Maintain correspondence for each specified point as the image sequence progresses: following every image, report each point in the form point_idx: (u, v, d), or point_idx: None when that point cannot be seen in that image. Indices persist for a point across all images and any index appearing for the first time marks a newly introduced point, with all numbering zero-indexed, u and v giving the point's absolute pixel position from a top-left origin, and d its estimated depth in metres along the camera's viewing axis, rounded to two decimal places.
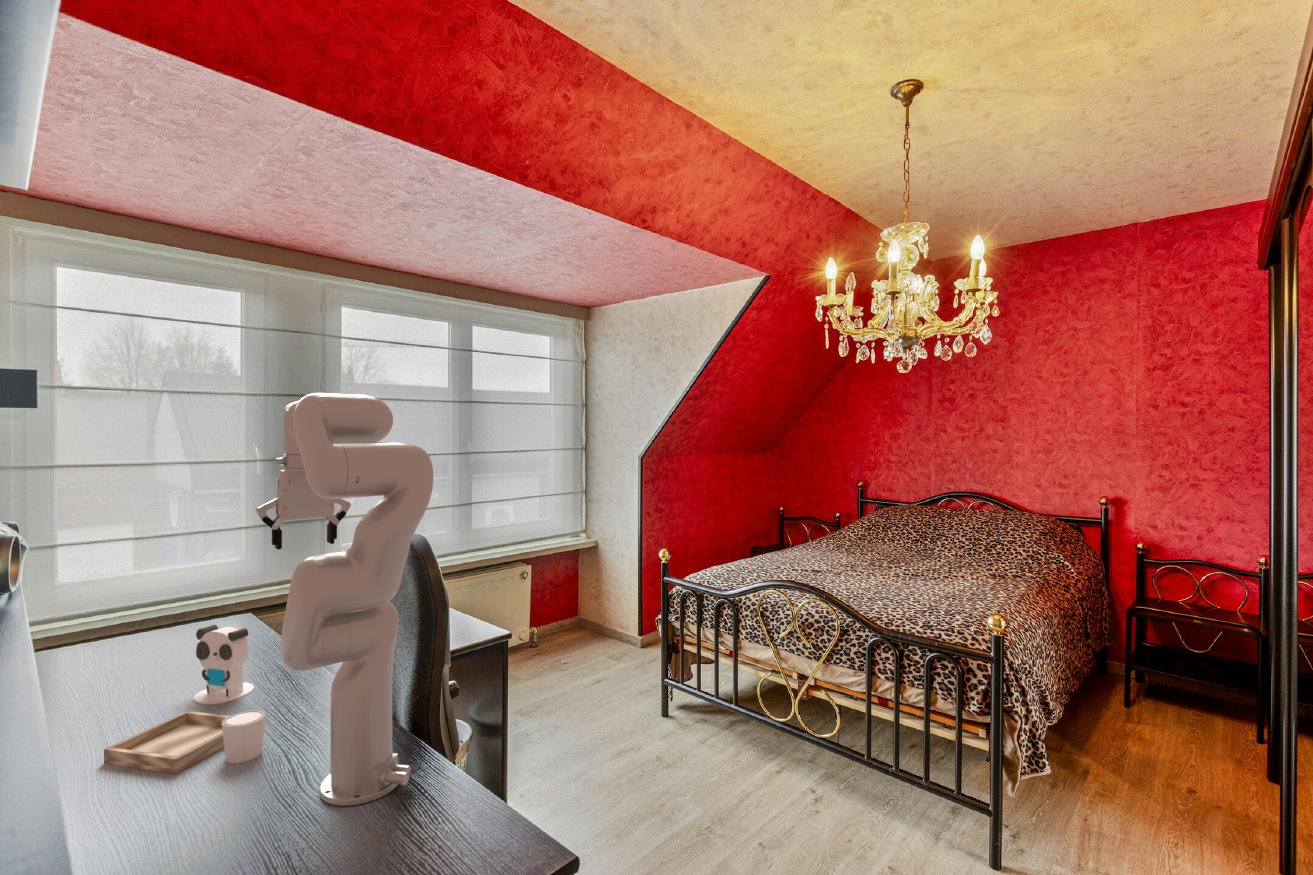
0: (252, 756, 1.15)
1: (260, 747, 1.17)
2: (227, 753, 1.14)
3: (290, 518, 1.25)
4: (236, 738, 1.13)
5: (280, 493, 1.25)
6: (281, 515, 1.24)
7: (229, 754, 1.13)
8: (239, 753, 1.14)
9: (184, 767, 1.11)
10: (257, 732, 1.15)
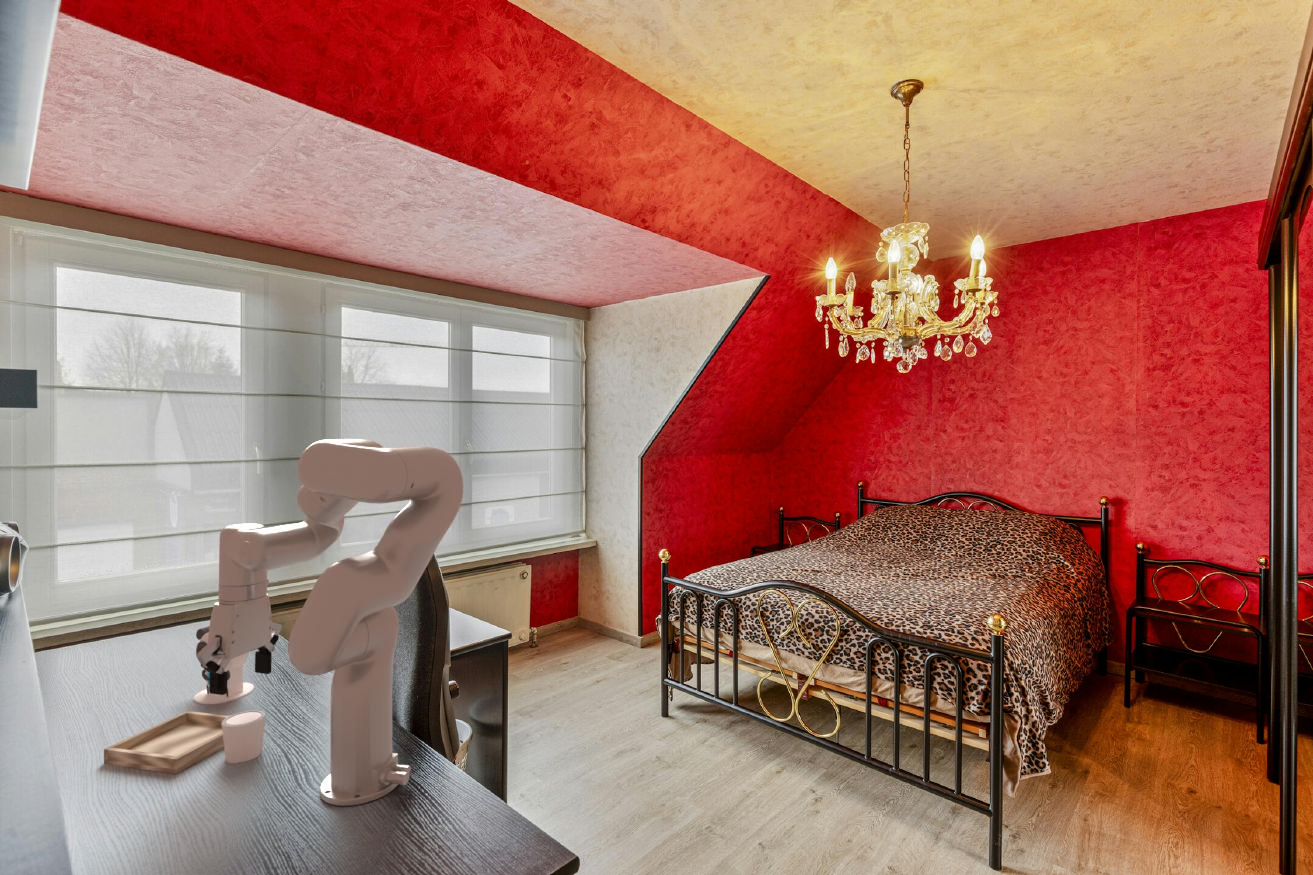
0: (252, 756, 1.15)
1: (260, 747, 1.17)
2: (227, 753, 1.14)
3: None
4: (236, 738, 1.13)
5: None
6: None
7: (229, 754, 1.13)
8: (239, 753, 1.14)
9: (184, 767, 1.11)
10: (257, 732, 1.15)
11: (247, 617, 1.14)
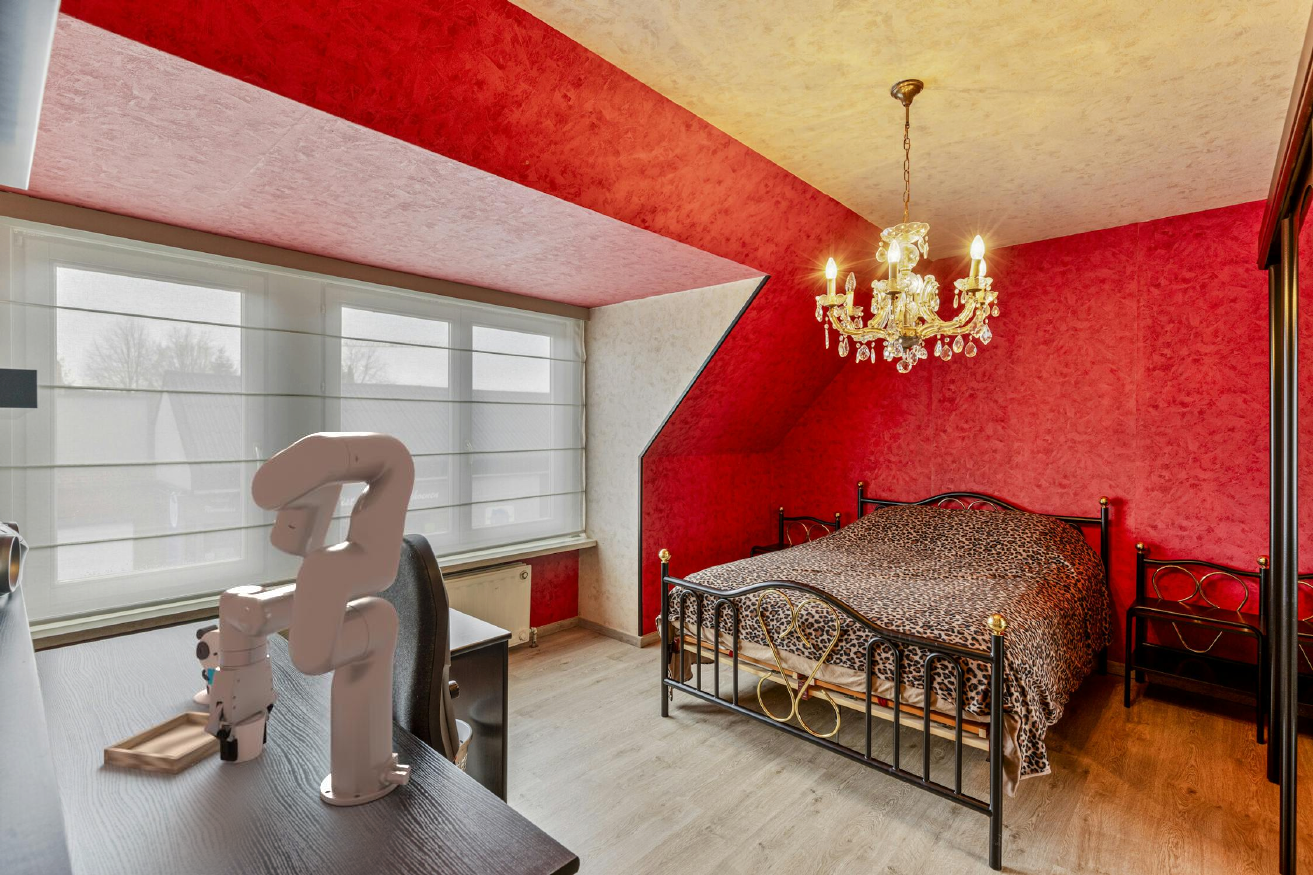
0: (252, 756, 1.15)
1: (260, 747, 1.17)
2: None
3: None
4: (236, 738, 1.13)
5: None
6: None
7: None
8: (239, 753, 1.14)
9: (184, 767, 1.11)
10: (257, 732, 1.15)
11: (249, 681, 1.14)
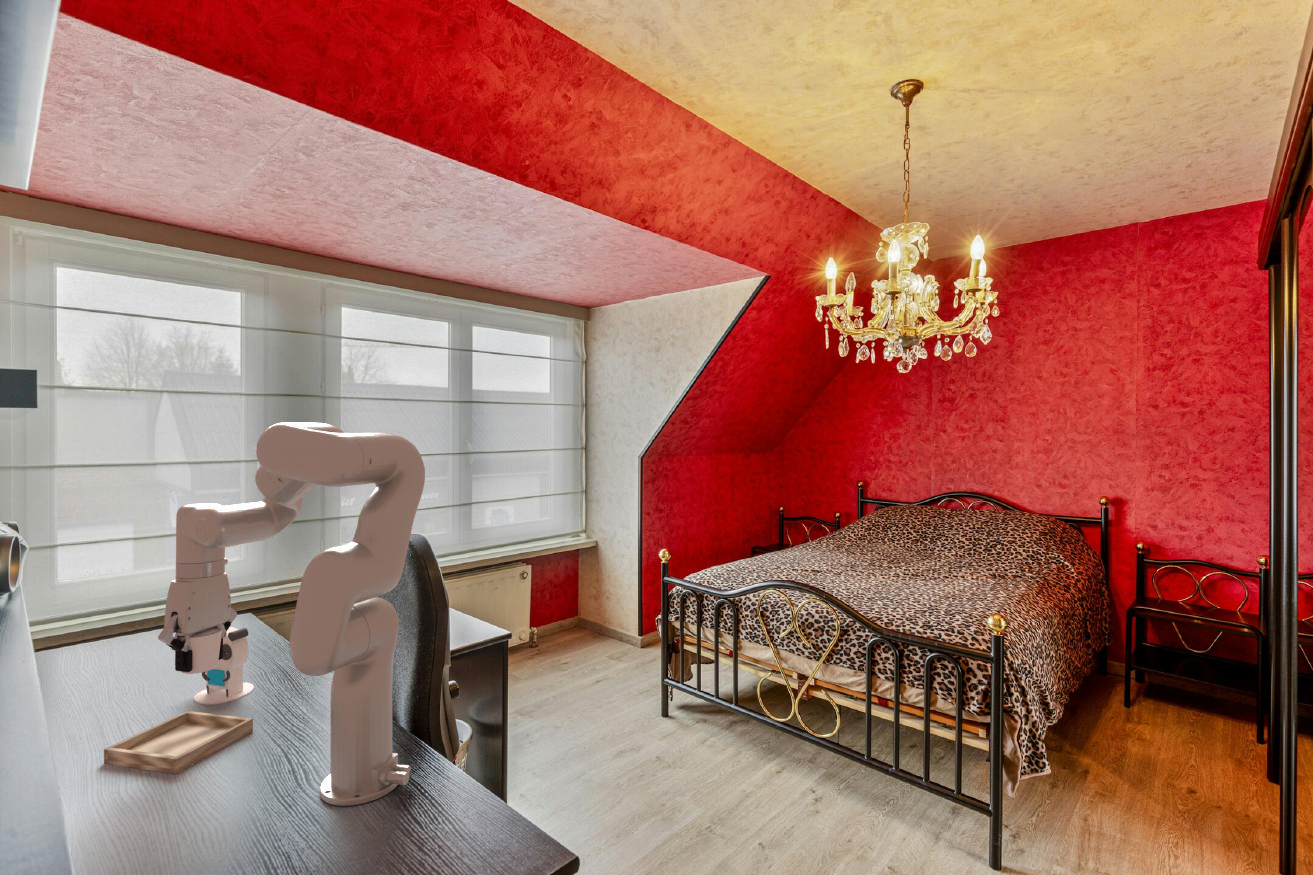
0: (207, 668, 1.17)
1: (216, 661, 1.19)
2: None
3: None
4: (191, 649, 1.15)
5: None
6: None
7: None
8: (194, 664, 1.16)
9: (184, 767, 1.11)
10: (212, 645, 1.17)
11: (204, 595, 1.16)
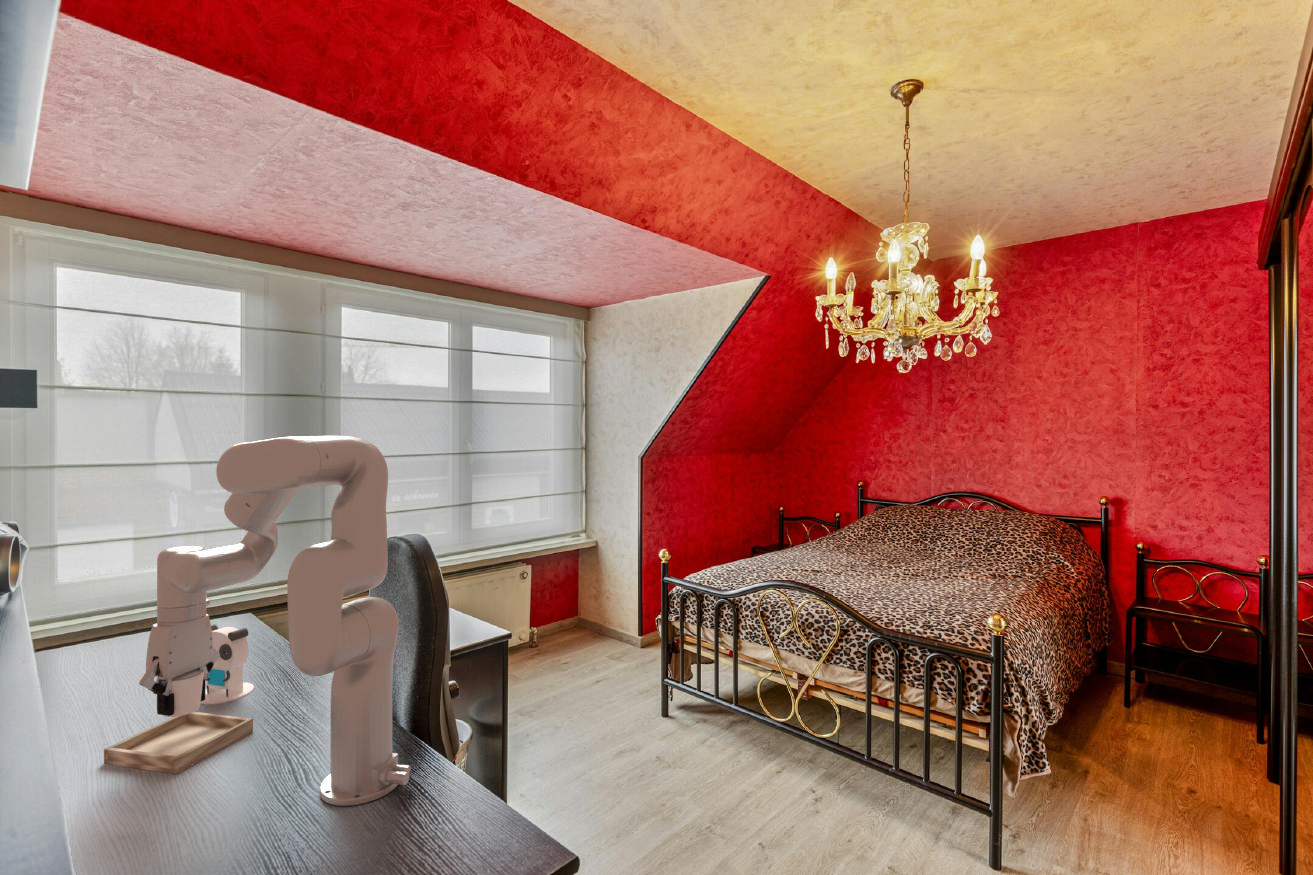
0: (189, 711, 1.18)
1: (198, 702, 1.20)
2: None
3: None
4: (172, 692, 1.16)
5: None
6: None
7: None
8: (175, 707, 1.16)
9: (184, 767, 1.11)
10: (194, 687, 1.18)
11: (186, 638, 1.17)
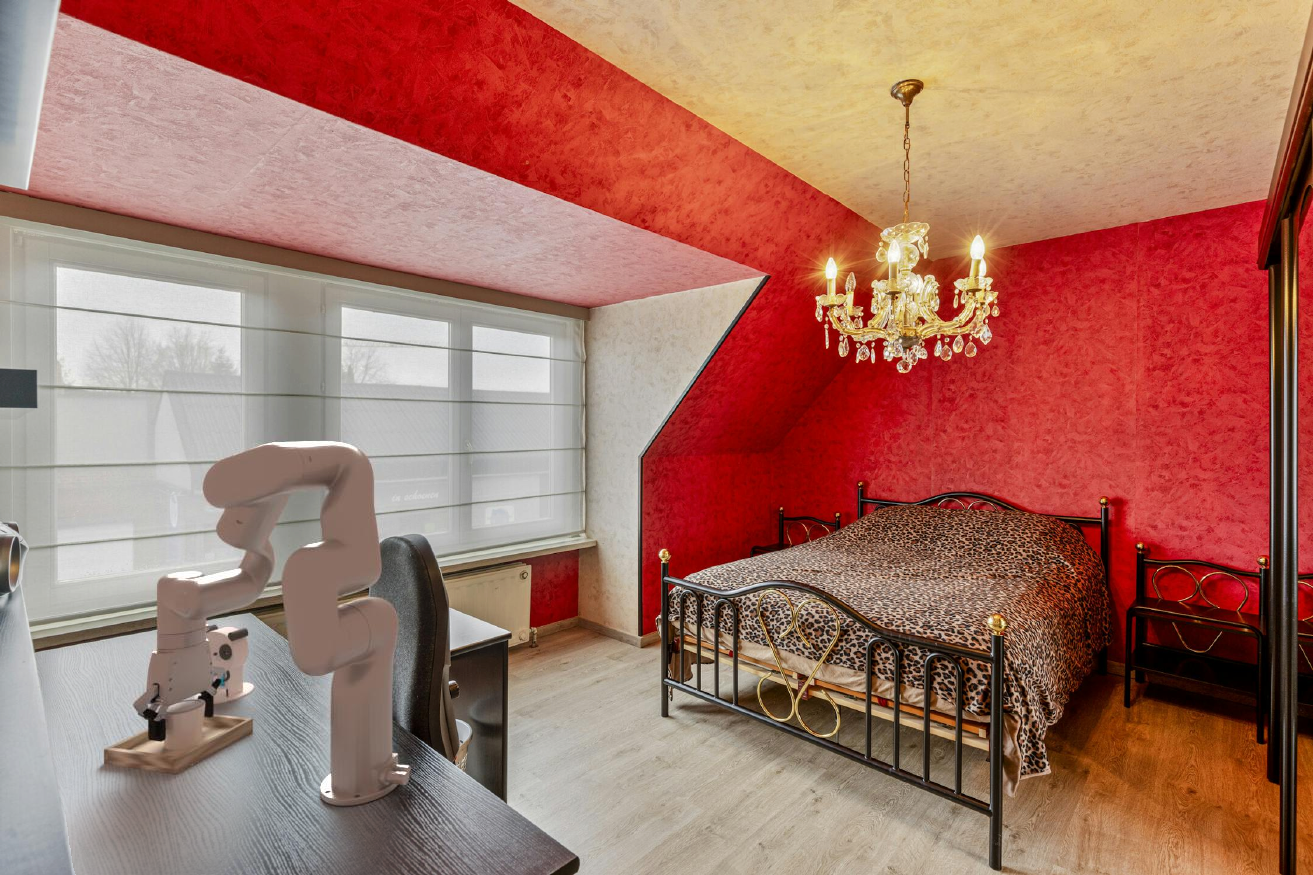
0: (190, 743, 1.18)
1: (199, 735, 1.20)
2: (165, 740, 1.17)
3: None
4: (174, 725, 1.16)
5: None
6: None
7: (167, 741, 1.16)
8: (177, 740, 1.16)
9: (184, 767, 1.11)
10: (195, 720, 1.18)
11: (186, 664, 1.17)
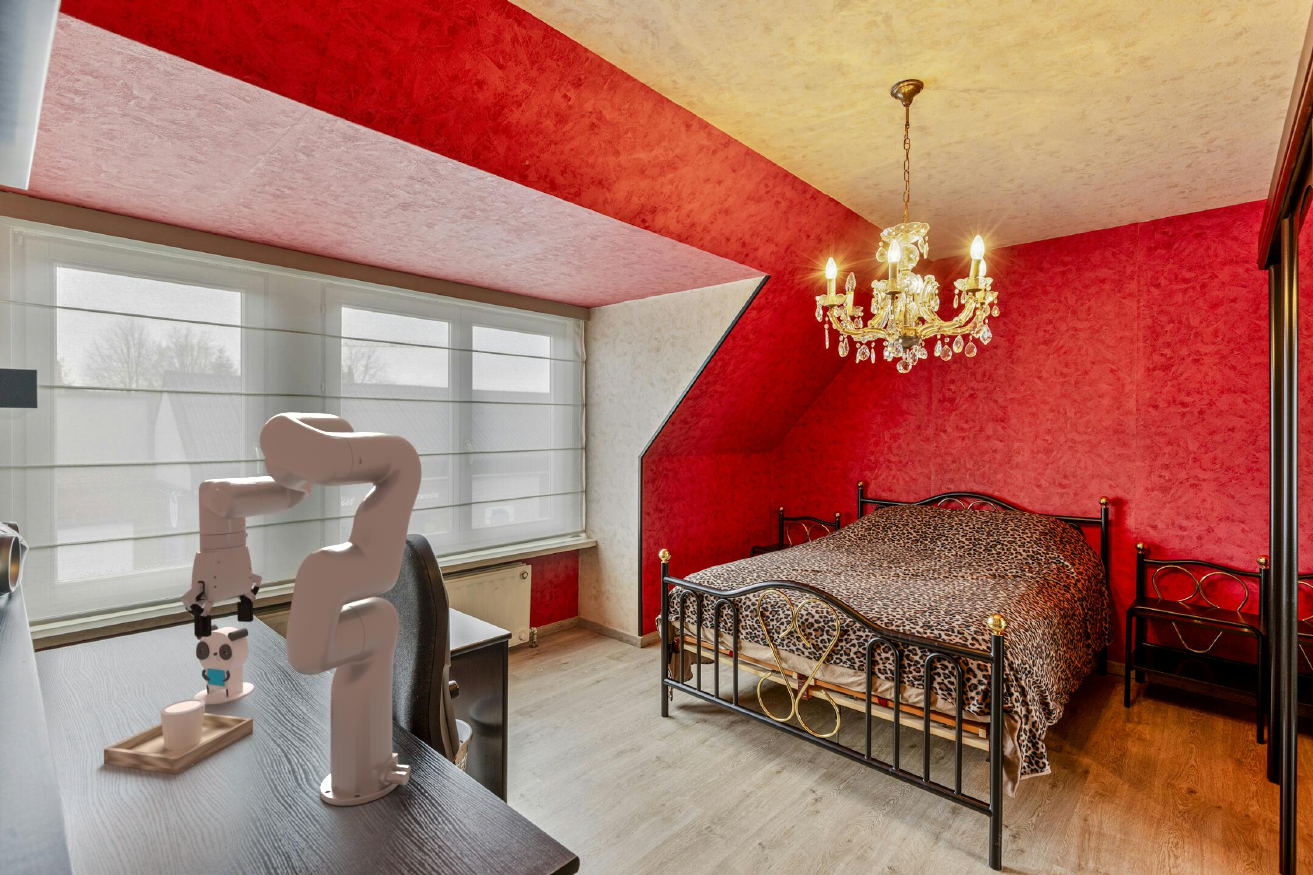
0: (190, 743, 1.18)
1: (199, 735, 1.20)
2: (165, 740, 1.17)
3: None
4: (174, 725, 1.16)
5: None
6: None
7: (167, 741, 1.16)
8: (177, 740, 1.16)
9: (184, 767, 1.11)
10: (195, 720, 1.18)
11: (228, 565, 1.22)
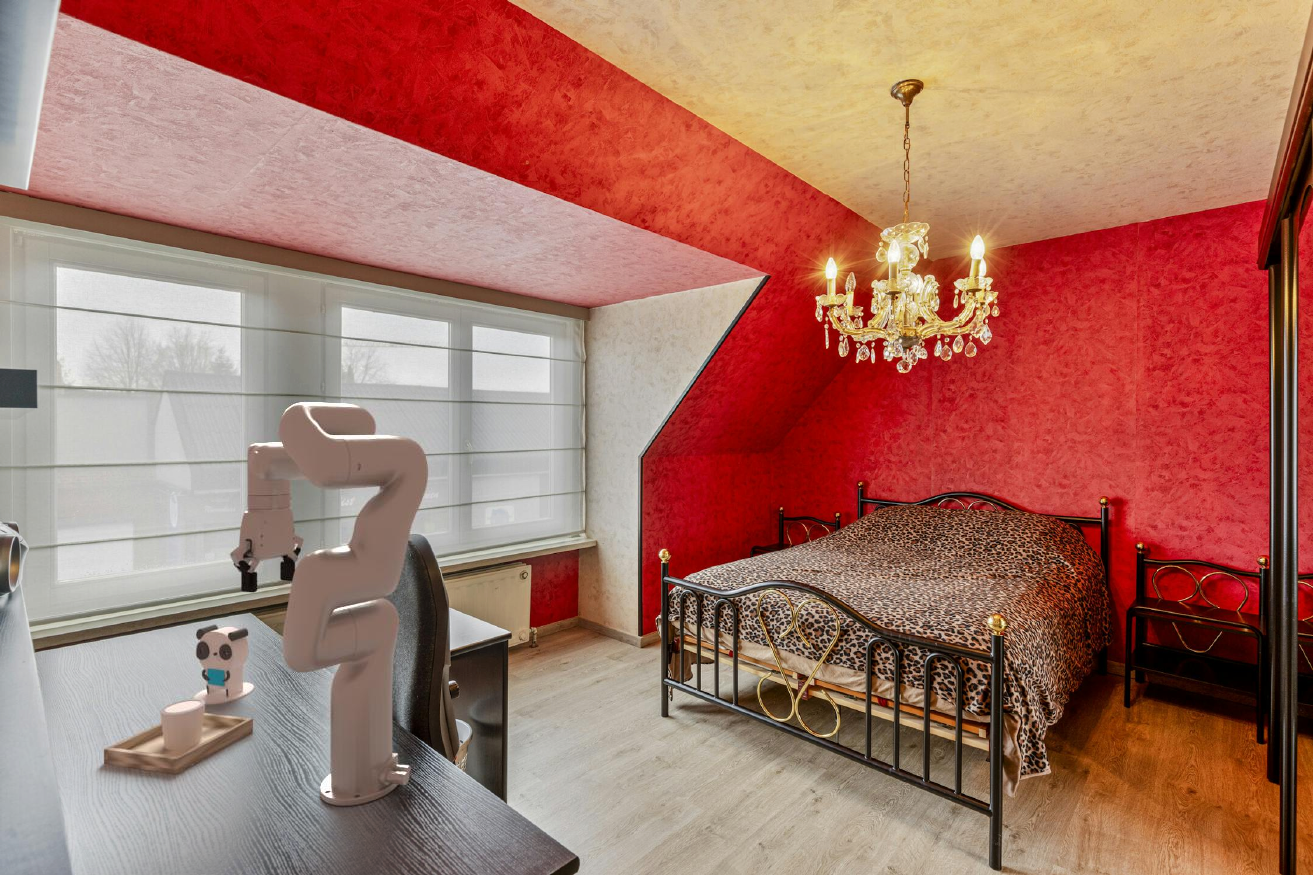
0: (190, 743, 1.18)
1: (199, 735, 1.20)
2: (165, 740, 1.17)
3: None
4: (174, 725, 1.16)
5: None
6: None
7: (167, 741, 1.16)
8: (177, 740, 1.16)
9: (184, 767, 1.11)
10: (195, 720, 1.18)
11: (274, 525, 1.27)
